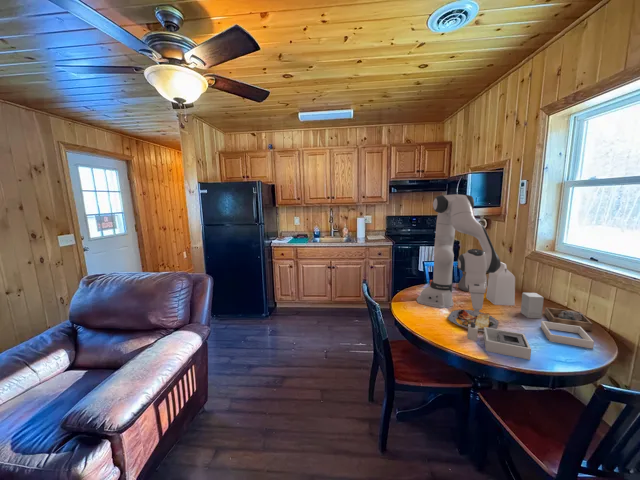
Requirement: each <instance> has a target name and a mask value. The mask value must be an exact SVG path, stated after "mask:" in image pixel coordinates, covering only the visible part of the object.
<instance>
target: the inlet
mask: <svg viewBox="0 0 640 480" xmlns="http://www.w3.org/2000/svg"><path fill="white" fill-rule="evenodd" d="M497 341H498V342H500V343H506V344H511V345H516V346H522V347H525V344H524V342H523V339H522V337H521V336H516V335H510V334H505V333H499V332H498V337H497Z"/></svg>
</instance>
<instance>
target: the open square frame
mask: <svg viewBox="0 0 640 480" xmlns="http://www.w3.org/2000/svg"><path fill="white" fill-rule="evenodd" d="M540 328H541V330H542V331H543V334H544V335H545V336H546V338H547V340H548V342H552V343H559V344H562V345H569V346H570V345H571V346H575V347H581V348H587V349H594V346H595V345H594V344H595V341H594V340H593V339H592V338H591V336H590V335H589V334H588V333H587V332H586V330H583V329H582V328H581V327H580V326H574V325H567V324H560V323H553V322H550V321H546V320H541V322H540ZM550 330H553V331H561V332H567V333H574V334H578V335H579V336H580V337H581V338H578V337H572V336H568V335H567V336H566V335H559V334H553V333H552V332H551V331H550Z"/></svg>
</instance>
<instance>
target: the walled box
mask: <svg viewBox="0 0 640 480" xmlns="http://www.w3.org/2000/svg"><path fill="white" fill-rule="evenodd" d="M498 332H499V333H505V334H510V335H516V336H521V337H522V339H523V342H524V344H525V347H522V346H516V345H511V344H506V343H500V342H498V341H497V337H498ZM483 341H484V348H485V352H489V353H494V354H498V355H499V354H500V355H504V356H509V357H514V358H517V359H523V360H529V361H531V356H532V348H531V345H530V343H529V342H528V339H527V337H526V335H525V333H521V332H516V331H510V330H505V329H504V330H503V329H499V328H497V329H493V328H487V327H484V331H483Z"/></svg>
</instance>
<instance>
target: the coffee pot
mask: <svg viewBox="0 0 640 480" xmlns="http://www.w3.org/2000/svg"><path fill="white" fill-rule="evenodd" d="M461 272H462V273H461V274H462V277H461V279H460V280H459V281H458V284H457V286H458V288H459V289H460V290H461V291H464V292H469V290H468V288H467V287H466V286H465V276H466V272H463V271H461ZM486 275H489V273H486Z"/></svg>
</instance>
